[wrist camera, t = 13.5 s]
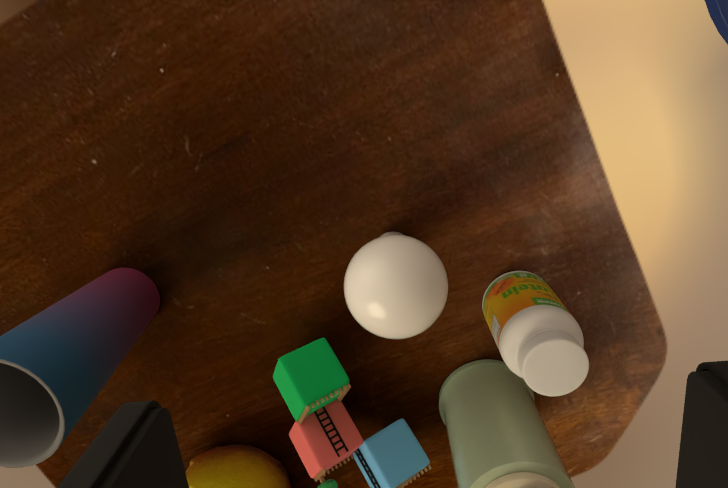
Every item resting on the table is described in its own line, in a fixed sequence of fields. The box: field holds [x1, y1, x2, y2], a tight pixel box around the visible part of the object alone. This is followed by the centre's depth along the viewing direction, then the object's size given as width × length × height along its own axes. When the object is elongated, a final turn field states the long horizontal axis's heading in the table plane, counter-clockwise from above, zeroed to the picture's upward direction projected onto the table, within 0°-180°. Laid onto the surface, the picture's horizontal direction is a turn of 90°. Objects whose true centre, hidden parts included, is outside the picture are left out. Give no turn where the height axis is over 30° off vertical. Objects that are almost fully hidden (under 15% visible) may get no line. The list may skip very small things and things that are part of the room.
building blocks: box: [273, 338, 431, 488], centre depth 41 cm, size 8×8×12 cm
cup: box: [0, 268, 160, 468], centre depth 34 cm, size 7×7×15 cm
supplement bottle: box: [482, 271, 589, 396], centre depth 36 cm, size 5×5×10 cm
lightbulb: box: [344, 232, 448, 339], centre depth 34 cm, size 6×6×11 cm
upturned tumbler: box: [438, 359, 575, 488], centre depth 38 cm, size 8×8×12 cm
